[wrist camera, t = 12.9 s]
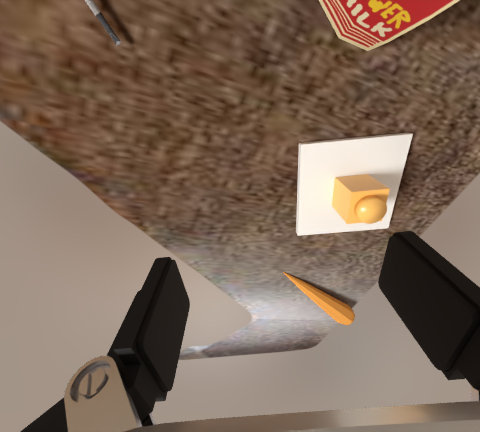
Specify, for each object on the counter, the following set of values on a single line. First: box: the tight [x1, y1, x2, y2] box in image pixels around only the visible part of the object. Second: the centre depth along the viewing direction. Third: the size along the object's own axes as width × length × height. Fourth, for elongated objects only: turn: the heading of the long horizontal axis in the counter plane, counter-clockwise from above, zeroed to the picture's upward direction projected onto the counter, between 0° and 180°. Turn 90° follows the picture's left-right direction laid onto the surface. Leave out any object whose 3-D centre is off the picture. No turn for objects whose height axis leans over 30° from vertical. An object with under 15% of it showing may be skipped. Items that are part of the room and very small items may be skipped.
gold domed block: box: [332, 174, 390, 224], centre depth 33 cm, size 5×5×8 cm
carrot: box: [283, 272, 355, 325], centre depth 49 cm, size 20×4×4 cm, turn 53°
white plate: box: [296, 133, 413, 236], centre depth 35 cm, size 16×16×6 cm
